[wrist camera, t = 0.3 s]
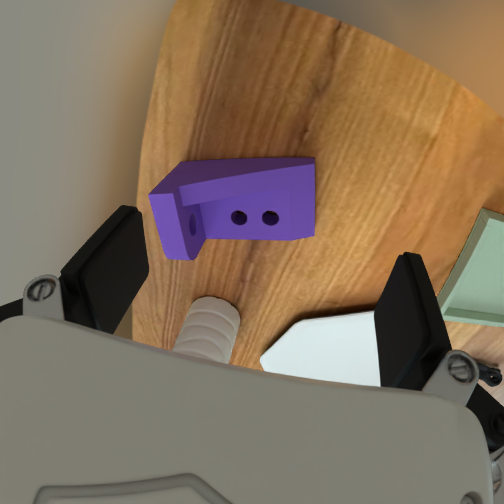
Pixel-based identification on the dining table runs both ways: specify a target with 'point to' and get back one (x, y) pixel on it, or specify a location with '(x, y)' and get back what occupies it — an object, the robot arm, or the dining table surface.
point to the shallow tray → (478, 276)
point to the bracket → (233, 202)
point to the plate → (328, 349)
